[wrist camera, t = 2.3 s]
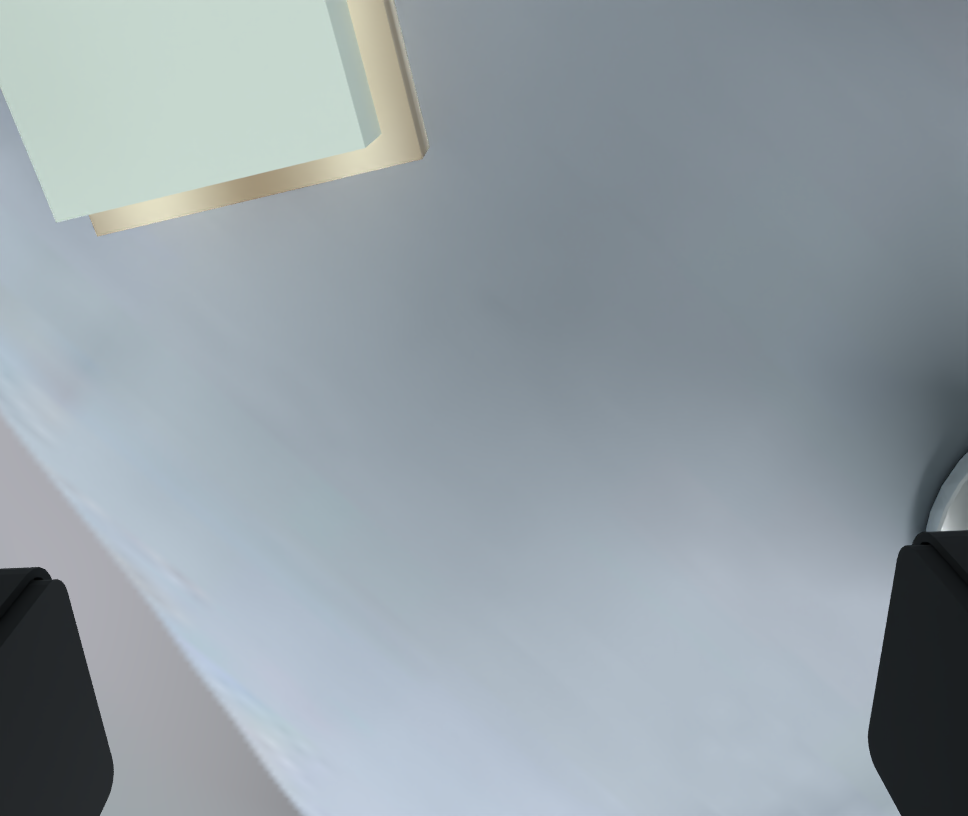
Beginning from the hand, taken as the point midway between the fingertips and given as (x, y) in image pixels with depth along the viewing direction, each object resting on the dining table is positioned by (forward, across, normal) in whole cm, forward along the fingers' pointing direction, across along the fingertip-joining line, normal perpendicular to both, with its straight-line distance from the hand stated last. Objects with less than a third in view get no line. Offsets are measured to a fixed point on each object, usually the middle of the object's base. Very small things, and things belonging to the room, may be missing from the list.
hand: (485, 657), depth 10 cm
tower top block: (+21, +8, -7) cm, 24 cm away
